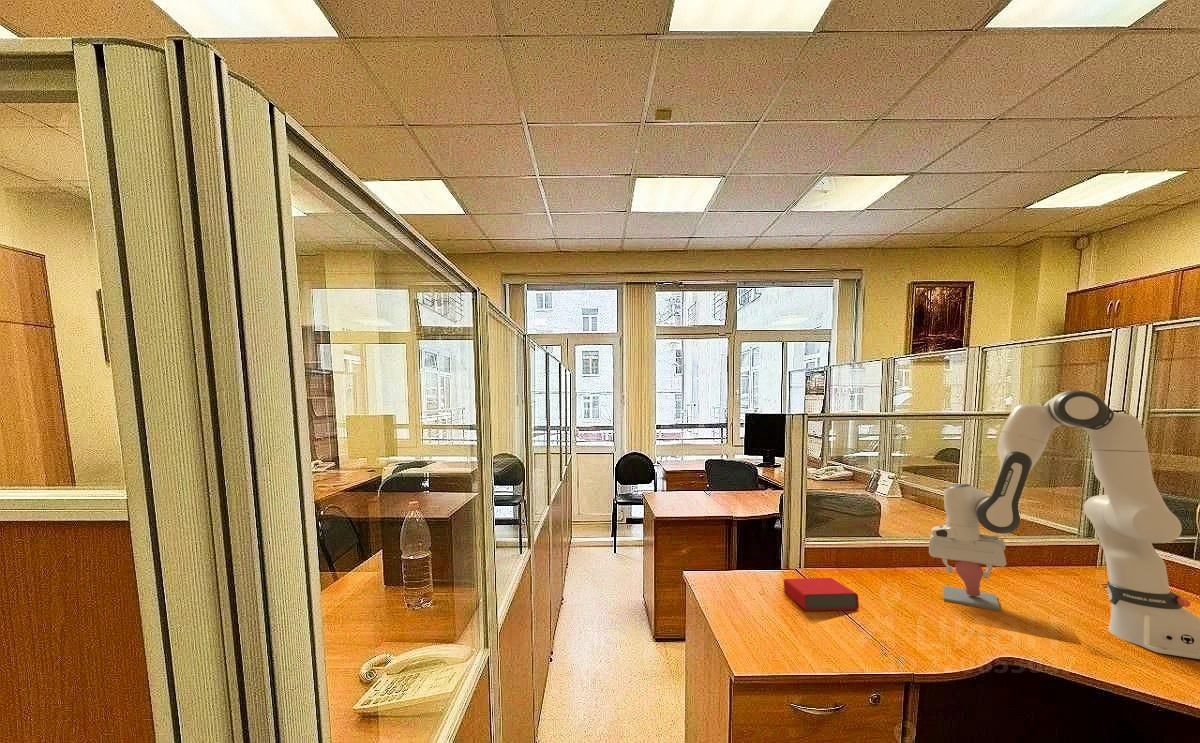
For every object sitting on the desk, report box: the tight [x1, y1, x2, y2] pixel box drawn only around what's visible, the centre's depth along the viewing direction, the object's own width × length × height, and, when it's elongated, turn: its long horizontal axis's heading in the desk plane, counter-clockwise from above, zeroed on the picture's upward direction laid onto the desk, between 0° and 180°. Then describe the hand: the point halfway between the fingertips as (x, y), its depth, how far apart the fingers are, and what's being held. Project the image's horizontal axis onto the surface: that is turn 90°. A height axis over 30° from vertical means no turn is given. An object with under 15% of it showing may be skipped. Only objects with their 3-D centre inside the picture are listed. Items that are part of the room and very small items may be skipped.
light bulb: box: [954, 560, 984, 597], centre depth 147 cm, size 7×7×12 cm
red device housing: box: [783, 577, 860, 612], centre depth 147 cm, size 18×14×5 cm
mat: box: [942, 585, 1001, 612], centre depth 147 cm, size 14×14×1 cm
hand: (967, 574), depth 148 cm, fingers open, 8 cm apart
